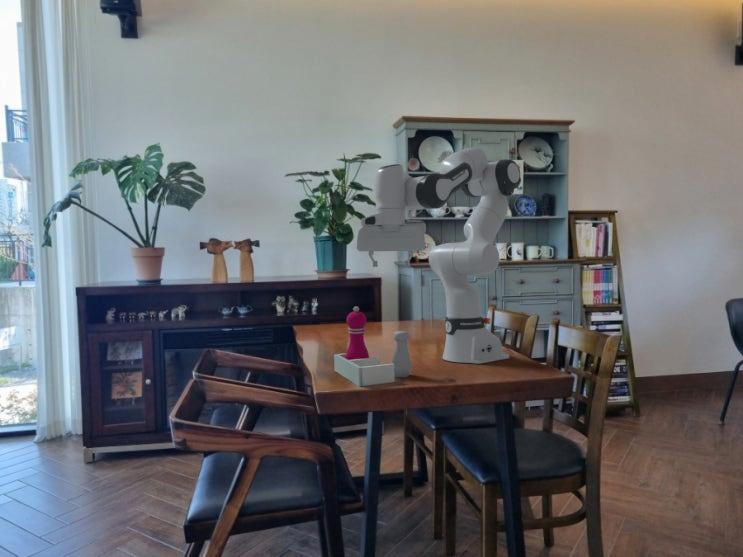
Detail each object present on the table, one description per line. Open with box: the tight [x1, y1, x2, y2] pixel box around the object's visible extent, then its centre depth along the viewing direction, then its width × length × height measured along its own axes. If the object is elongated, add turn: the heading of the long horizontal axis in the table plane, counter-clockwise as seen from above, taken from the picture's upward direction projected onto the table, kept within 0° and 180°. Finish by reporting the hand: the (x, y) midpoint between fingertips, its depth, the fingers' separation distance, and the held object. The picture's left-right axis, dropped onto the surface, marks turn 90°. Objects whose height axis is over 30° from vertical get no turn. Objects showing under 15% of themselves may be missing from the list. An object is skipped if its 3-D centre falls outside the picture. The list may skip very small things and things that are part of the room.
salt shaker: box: [391, 330, 413, 379], centre depth 145 cm, size 6×6×13 cm
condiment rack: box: [333, 352, 395, 387], centre depth 146 cm, size 10×21×5 cm, turn 23°
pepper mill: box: [345, 306, 370, 360], centre depth 150 cm, size 7×7×20 cm
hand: (391, 266), depth 148 cm, fingers open, 8 cm apart
